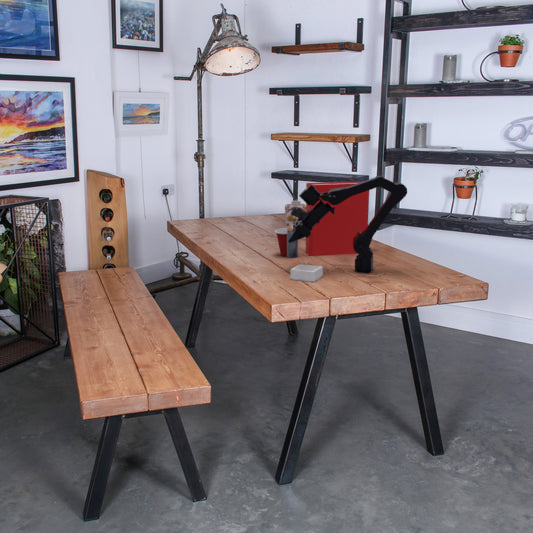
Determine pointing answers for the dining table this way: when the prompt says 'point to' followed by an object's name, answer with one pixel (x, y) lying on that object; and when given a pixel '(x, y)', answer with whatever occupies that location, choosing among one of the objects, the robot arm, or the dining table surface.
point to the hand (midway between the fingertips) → (289, 240)
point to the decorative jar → (288, 208)
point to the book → (338, 222)
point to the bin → (306, 273)
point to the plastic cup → (282, 240)
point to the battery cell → (293, 246)
